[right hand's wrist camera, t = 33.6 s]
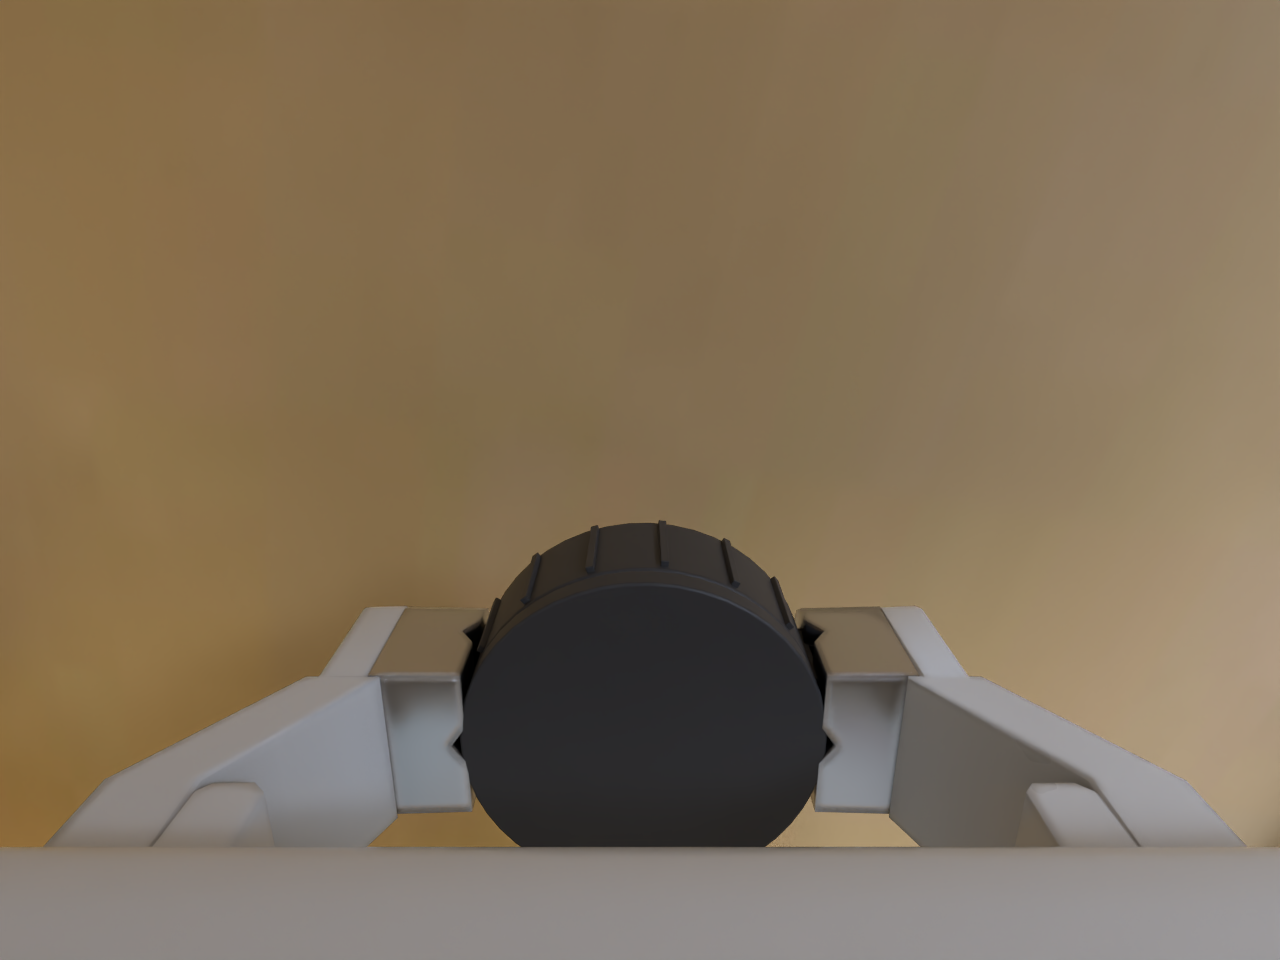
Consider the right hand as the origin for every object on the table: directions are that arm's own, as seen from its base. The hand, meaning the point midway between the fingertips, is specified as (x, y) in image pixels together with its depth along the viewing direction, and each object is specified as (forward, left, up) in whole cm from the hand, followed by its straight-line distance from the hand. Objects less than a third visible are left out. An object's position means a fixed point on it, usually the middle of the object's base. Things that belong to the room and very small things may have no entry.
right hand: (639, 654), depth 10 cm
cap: (0, 0, +1) cm, 2 cm away
